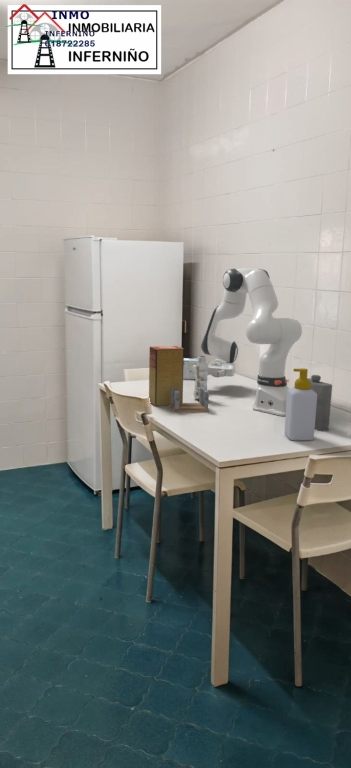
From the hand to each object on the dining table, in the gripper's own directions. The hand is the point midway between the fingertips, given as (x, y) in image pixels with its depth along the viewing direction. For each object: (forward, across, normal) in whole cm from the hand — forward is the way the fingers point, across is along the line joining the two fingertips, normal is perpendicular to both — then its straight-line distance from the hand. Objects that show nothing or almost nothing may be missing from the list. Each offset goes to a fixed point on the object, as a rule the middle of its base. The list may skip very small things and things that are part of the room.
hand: (208, 372), depth 269 cm
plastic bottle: (+11, 0, +11) cm, 15 cm away
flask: (+32, +54, +11) cm, 64 cm away
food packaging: (+24, -12, +11) cm, 29 cm away
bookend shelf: (+30, +2, +11) cm, 32 cm away
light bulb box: (-35, -22, +11) cm, 43 cm away
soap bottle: (+51, +51, +11) cm, 73 cm away
